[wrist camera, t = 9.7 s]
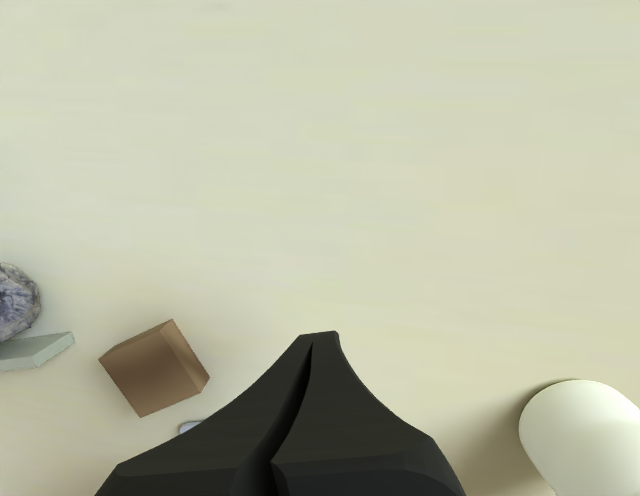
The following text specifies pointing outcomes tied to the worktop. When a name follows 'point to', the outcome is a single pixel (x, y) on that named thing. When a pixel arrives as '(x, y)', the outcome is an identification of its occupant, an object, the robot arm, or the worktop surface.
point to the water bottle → (583, 439)
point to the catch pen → (32, 351)
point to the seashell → (16, 301)
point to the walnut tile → (155, 369)
